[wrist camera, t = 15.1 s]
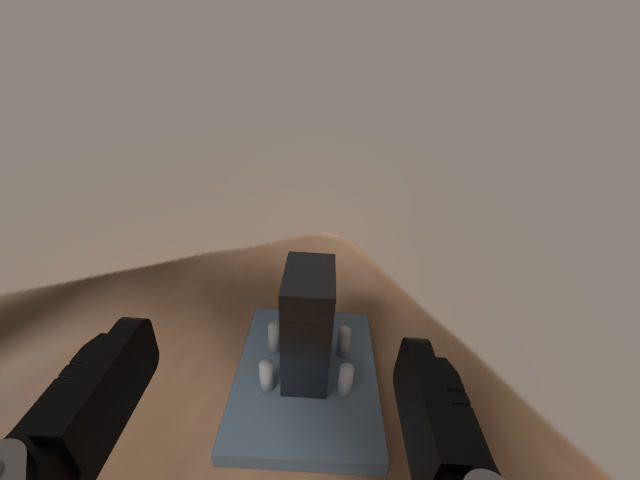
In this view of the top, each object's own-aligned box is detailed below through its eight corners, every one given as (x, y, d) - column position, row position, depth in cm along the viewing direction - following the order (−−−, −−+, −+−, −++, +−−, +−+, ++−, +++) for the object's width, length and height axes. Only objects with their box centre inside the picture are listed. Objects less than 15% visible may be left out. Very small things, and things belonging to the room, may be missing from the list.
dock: (213, 466, 24) (205, 431, 22) (256, 317, 38) (254, 287, 36) (386, 476, 24) (396, 442, 22) (365, 324, 38) (370, 294, 36)
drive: (280, 396, 28) (278, 295, 22) (288, 342, 33) (288, 251, 28) (326, 399, 28) (335, 299, 22) (327, 345, 33) (335, 253, 28)
